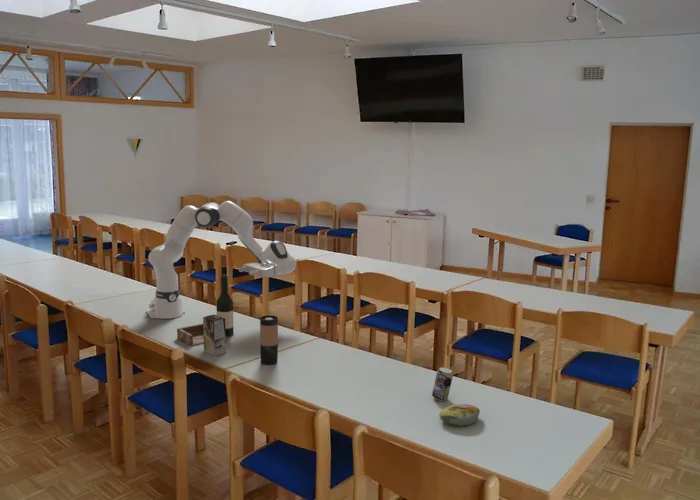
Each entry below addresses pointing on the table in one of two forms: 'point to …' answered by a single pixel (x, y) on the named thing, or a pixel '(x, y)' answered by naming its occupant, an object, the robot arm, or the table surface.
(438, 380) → the beverage can
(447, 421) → the cell model
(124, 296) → the table surface
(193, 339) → the tray
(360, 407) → the table surface
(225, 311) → the wine bottle
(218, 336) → the coffee box
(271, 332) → the travel mug
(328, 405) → the table surface
